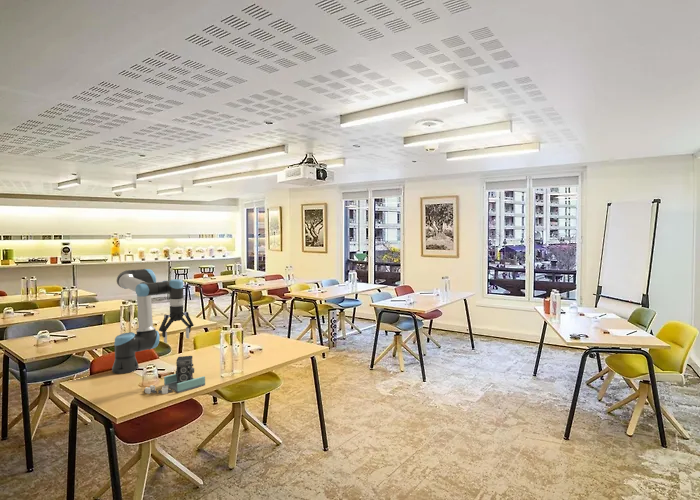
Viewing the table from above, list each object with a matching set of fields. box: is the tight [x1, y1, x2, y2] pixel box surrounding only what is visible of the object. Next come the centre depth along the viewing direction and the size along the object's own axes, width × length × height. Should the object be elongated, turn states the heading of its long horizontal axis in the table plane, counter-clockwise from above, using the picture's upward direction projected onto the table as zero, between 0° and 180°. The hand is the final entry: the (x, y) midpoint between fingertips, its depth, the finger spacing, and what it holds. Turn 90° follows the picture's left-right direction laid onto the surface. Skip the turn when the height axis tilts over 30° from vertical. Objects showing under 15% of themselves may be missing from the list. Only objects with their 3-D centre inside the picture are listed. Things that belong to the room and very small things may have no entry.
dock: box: [163, 373, 206, 394], centre depth 247 cm, size 18×16×5 cm
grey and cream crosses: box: [143, 388, 173, 394], centre depth 236 cm, size 16×4×1 cm, turn 87°
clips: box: [144, 384, 170, 395], centre depth 236 cm, size 13×5×3 cm, turn 87°
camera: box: [175, 355, 195, 383], centre depth 247 cm, size 10×10×15 cm
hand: (176, 340), depth 253 cm, fingers open, 13 cm apart
